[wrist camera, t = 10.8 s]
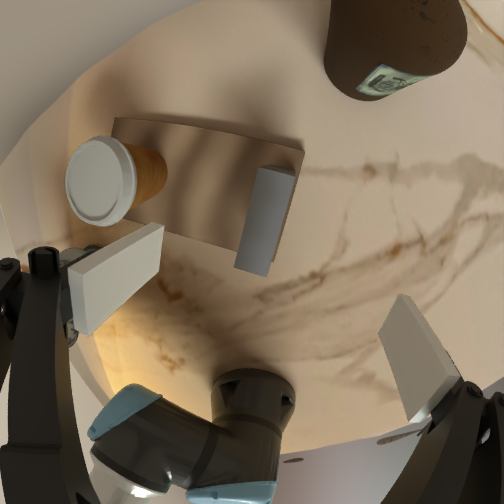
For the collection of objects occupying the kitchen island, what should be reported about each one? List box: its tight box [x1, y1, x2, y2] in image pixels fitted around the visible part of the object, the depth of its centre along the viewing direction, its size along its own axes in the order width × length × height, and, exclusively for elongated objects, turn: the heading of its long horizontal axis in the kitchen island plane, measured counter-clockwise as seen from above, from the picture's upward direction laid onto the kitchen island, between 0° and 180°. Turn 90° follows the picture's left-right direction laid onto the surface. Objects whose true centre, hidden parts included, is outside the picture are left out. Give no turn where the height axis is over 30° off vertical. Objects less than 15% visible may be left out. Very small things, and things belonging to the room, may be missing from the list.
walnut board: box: [111, 118, 305, 277], centre depth 29 cm, size 26×14×11 cm, turn 76°
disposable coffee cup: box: [65, 136, 168, 227], centre depth 28 cm, size 10×10×12 cm
